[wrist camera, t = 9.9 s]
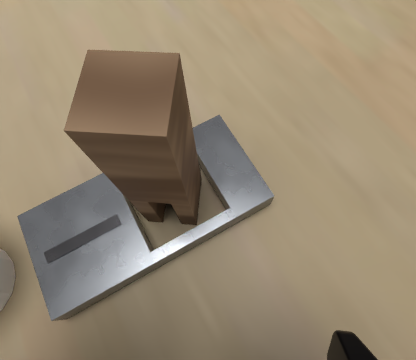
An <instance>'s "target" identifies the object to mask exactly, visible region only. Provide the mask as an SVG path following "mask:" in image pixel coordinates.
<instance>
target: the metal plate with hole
mask: <svg viewBox="0 0 416 360" xmlns="http://www.w3.org/2000/svg"><path fill="white" fill-rule="evenodd" d="M193 134H194V139H195V145H196V151H197V157H198V162H199V165H200V167H201V168H202V170H203V172H204V173H205V175H206V177H207V178H208V180H209V182H210V183H211V185H212V187H213V188H214V190H215V192H216V193H217V195H218V197H219V198H220V200H221V202H222V203H223V205H224V207H225V208H226V211H224V212H222V213H220V214H218V215H217V216H215V217H213V218H211V219H209V220H208V221H206V222H204V223H202V224H200V225H198V226H197V227H195V228H193V229H191V230H189V231H188V232H186V233H184V234H182V235H180V236H179V237H177V238H175V239H173V240H171V241H170V242H168V243H166V244H164V245H162V246H161V247H159V248H157V249H155V250H153V248H152V246H151V244H150V242H149V240H148V238H147V236H146V234H145V232H144V229H143V227H142V225H141V223H140V221H139V219H138V217H137V215H136V213H135V211H134V209H133V207H132V205H131V202H130V201H129V200H128V199H127V198H126V197H125V196H124V195H123V194H122V192H121V191H120V190H119V189H118V188H117V187H116V186H115V185H114V184H113V183H112V182H111V181H110V180H109V179H108V177H107V176H106V175H105V174H104V173H102V174H100V175H98V176H96V177H94V178H92V179H90V180H88V181H86V182H84V183H82V184H80V185H78V186H76V187H74V188H72V189H70V190H68V191H66V192H64V193H62V194H60V195H58V196H56V197H54V198H52V199H50V200H48V201H46V202H44V203H42V204H40V205H38V206H36V207H34V208H32V209H30V210H28V211H27V212H25V213H23V214H21V215H19V216H17V217H18V220H19V223H20V226H21V229H22V232H23V235H24V238H25V241H26V244H27V247H28V250H29V253H30V257H31V260H32V263H33V266H34V269H35V272H36V275H37V278H38V281H39V284H40V287H41V290H42V293H43V296H44V300H45V303H46V306H47V309H48V312H49V315H50V318H51V321H55V320H63V319H68V318H70V317H72V316H73V315H75V314H77V313H79V312H80V311H82V310H84V309H86V308H87V307H89V306H91V305H93V304H95V303H96V302H98V301H100V300H102V299H103V298H105V297H107V296H109V295H111V294H112V293H114V292H116V291H118V290H119V289H121V288H123V287H125V286H126V285H128V284H130V283H132V282H134V281H135V280H137V279H139V278H141V277H142V276H144V275H146V274H148V273H149V272H151V271H153V270H155V269H157V268H158V267H160V266H162V265H164V264H165V263H167V262H169V261H171V260H173V259H174V258H176V257H178V256H180V255H181V254H183V253H185V252H187V251H188V250H190V249H192V248H194V247H196V246H197V245H199V244H201V243H203V242H204V241H206V240H208V239H210V238H211V237H213V236H215V235H217V234H219V233H220V232H222V231H224V230H226V229H227V228H229V227H231V226H233V225H235V224H236V223H238V222H240V221H242V220H243V219H245V218H247V217H249V216H250V215H252V214H254V213H256V212H258V211H259V210H261V209H263V208H265V207H266V206H268V205H270V204H271V202H272V199H273V197H274V195H273V193H272V192H271V190H270V189H269V187H268V186H267V184H266V183H265V181H264V180H263V178H262V177H261V175H260V174H259V173H258V171H257V170H256V168H255V167H254V165H253V164H252V162H251V161H250V159H249V158H248V156H247V155H246V153H245V152H244V150H243V149H242V147H241V146H240V144H239V143H238V142H237V140H236V139H235V137H234V136H233V134H232V133H231V131H230V130H229V128H228V127H227V125H226V124H225V122H224V121H223V119H222V118H221V116H220V115H218V116H216V117H214V118H212V119H210V120H208V121H206V122H204V123H202V124H200V125H198V126H196V127H194V128H193Z"/></svg>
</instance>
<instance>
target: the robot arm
mask: <svg viewBox="0 0 416 360" xmlns="http://www.w3.org/2000/svg"><path fill="white" fill-rule="evenodd" d="M327 360H378V359H377V358H376V357H375V356H374V355H373V354H372V353H371V352H370V350H369V349H368V348H367V347H366V346H365V345H364V344H363V343H362V341H361V340H360V339H359V338H358V337H357V336H356V335H355V334H354V333H352V332H349V331H340V330H336V331H335V332H334V333H333V336H332V339H331V343H330V346H329V350H328V353H327Z"/></svg>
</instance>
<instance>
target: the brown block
mask: <svg viewBox="0 0 416 360" xmlns="http://www.w3.org/2000/svg"><path fill="white" fill-rule="evenodd" d="M64 131H65V132H66V133H67V135H68V136H69V137H70V138H71V139H72V140H73V141H74V142H75V143H76V144H77V145H78V146H79V147H80V148H81V150H82V151H83V152H84V153H85V154H86V155H87V156H88V157H89V158H90V159H91V160H92V161H93V162H94V164H95V165H96V166H97V167H98V168H99V169H100V170H101V171H102V172H103V173H104V174H105V175H106V176H107V177H108V179H109V180H110V181H111V182H112V183H113V184H114V185H115V186H116V187H117V188H118V189H119V190H120V191H121V192H122V194H123V195H124V196H125V197H126V198H127V199H128V200H129V201H130V202H131V203H132V204H133V205H134V206H135V208H136V209H137V210H138V211H139V212H140V213H141V214H142V215H143V216H144V217H145V218H146V219H147V220H148V221H153V222H163V218H164V211H165V204H166V203H168V204H171V205H172V206H173V208H174V210H175V212H176V214H177V216H178V218H179V220H180V222H181V223H182V224H191V225H197V216H198V207H199V197H200V188H201V174H200V168H199V162H198V157H197V151H196V145H195V139H194V134H193V128H192V122H191V117H190V111H189V105H188V99H187V94H186V88H185V82H184V76H183V71H182V65H181V59H180V53H160V52H134V51H107V50H88V51H87V54H86V57H85V61H84V64H83V68H82V71H81V74H80V78H79V81H78V84H77V88H76V91H75V95H74V98H73V101H72V105H71V108H70V112H69V115H68V118H67V122H66V125H65V128H64Z"/></svg>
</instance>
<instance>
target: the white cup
mask: <svg viewBox="0 0 416 360" xmlns="http://www.w3.org/2000/svg"><path fill="white" fill-rule="evenodd" d="M15 278H16V275H15V269H14V263H13V261H12V260H11V258H10V257H9V255H8V254H7V253H6V251H4V250H2V249H0V311H1V310H2V309H3V308H4V306H5V305H6V303H7V301H8V300H9V298H10V296H11V294H12V292H13V287H14V283H15Z"/></svg>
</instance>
